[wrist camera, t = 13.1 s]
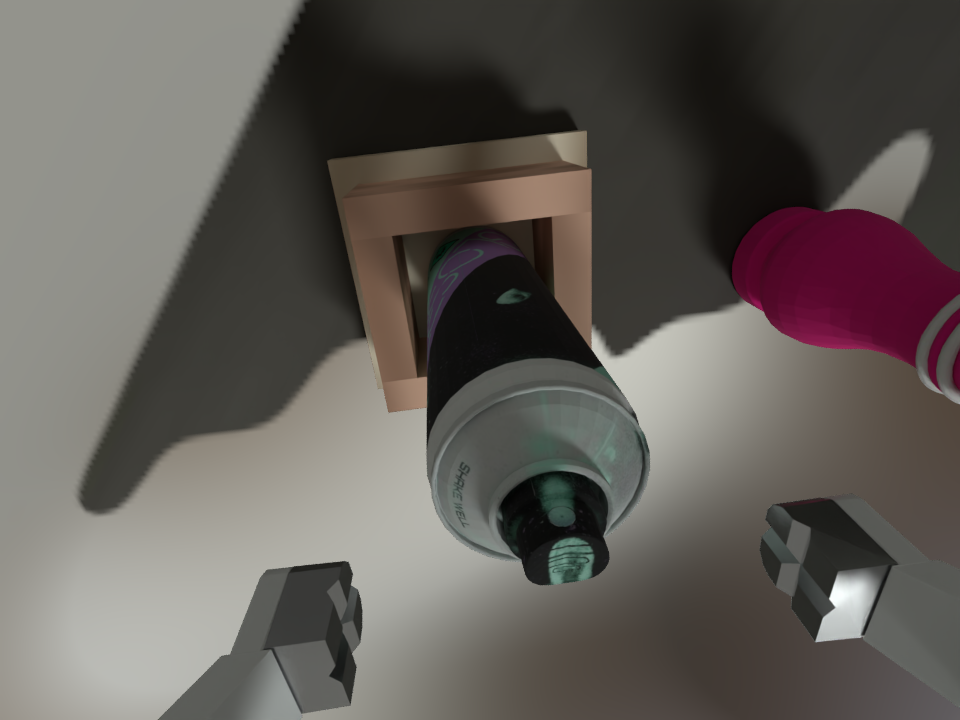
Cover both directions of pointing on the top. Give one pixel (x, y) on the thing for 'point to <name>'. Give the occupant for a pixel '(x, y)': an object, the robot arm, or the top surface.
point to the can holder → (449, 207)
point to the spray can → (522, 417)
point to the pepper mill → (854, 288)
